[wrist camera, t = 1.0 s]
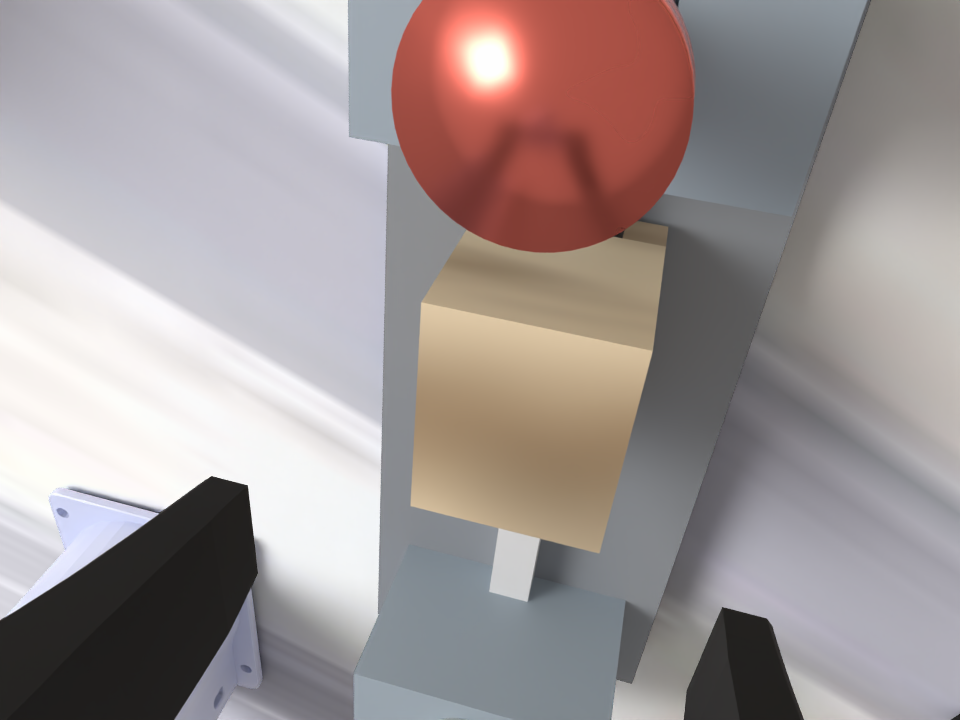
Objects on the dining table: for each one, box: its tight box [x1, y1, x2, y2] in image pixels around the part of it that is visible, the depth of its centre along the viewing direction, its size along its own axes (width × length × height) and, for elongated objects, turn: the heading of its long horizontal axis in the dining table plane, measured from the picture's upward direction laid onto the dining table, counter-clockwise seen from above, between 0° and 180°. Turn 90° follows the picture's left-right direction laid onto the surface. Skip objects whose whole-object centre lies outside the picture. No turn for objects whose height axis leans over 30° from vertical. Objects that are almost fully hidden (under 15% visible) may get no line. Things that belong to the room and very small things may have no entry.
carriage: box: [410, 221, 668, 553], centre depth 17 cm, size 5×4×5 cm
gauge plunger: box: [391, 0, 696, 253], centre depth 10 cm, size 3×3×4 cm
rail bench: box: [348, 0, 871, 720], centre depth 19 cm, size 23×9×6 cm, turn 175°
